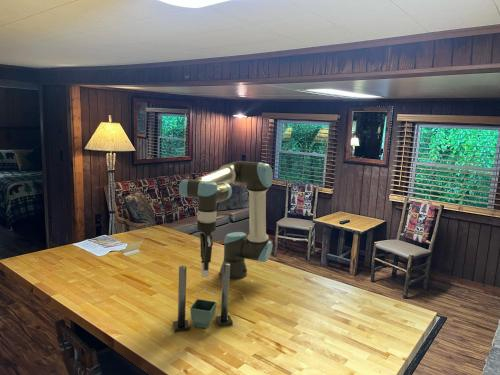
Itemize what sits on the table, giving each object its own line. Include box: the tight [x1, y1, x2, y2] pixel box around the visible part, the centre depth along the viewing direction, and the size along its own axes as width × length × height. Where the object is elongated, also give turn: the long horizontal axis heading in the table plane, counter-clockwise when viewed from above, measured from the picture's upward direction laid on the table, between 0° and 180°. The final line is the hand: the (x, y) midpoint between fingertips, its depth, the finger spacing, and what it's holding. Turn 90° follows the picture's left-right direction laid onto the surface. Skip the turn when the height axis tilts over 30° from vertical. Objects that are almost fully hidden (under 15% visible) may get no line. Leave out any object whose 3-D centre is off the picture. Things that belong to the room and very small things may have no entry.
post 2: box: [214, 262, 234, 328], centre depth 162 cm, size 6×6×26 cm
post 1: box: [172, 265, 191, 333], centre depth 156 cm, size 6×6×26 cm
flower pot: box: [189, 298, 217, 329], centre depth 160 cm, size 9×9×9 cm
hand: (205, 276), depth 158 cm, fingers closed
